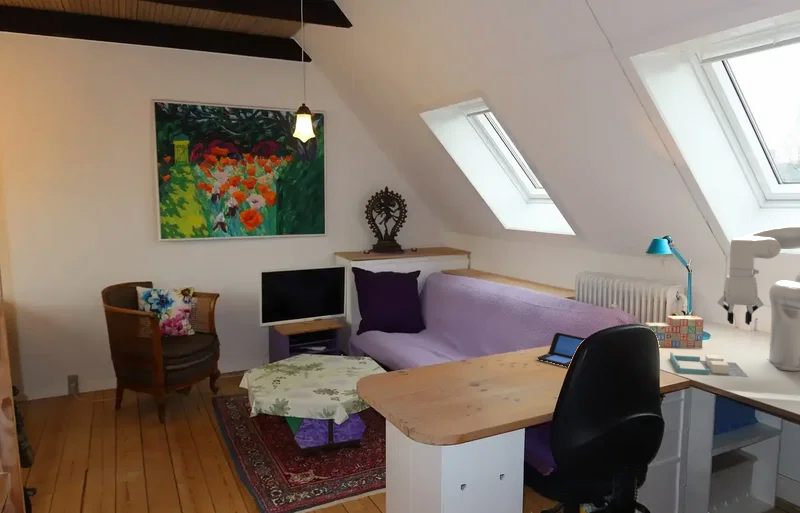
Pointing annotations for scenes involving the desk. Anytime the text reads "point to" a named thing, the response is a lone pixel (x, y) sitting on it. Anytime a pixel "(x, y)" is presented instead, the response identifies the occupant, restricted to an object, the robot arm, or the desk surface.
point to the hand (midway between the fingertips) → (739, 323)
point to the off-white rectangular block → (719, 367)
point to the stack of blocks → (679, 332)
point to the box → (686, 370)
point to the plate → (733, 370)
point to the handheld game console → (562, 349)
